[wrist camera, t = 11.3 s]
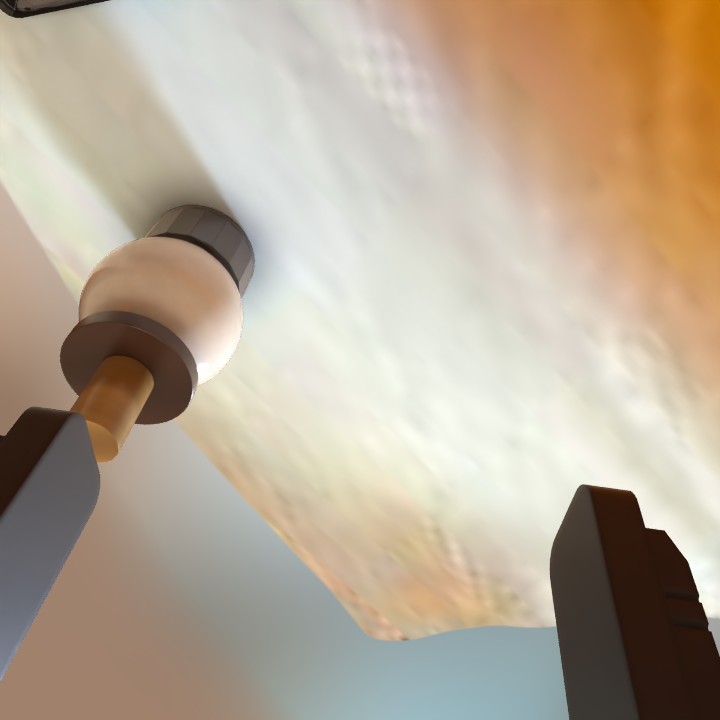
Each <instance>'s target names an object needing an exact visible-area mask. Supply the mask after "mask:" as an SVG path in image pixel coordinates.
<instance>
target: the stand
mask: <svg viewBox="0 0 720 720" xmlns="http://www.w3.org/2000/svg"><path fill="white" fill-rule="evenodd" d="M147 237H172V238H177V239H181V240H185V241H188V242H190V243H193V244H195V245H197V246H199V247H201V248H203V249H205V250H206V251H207V252H209V253H210V254H212V255H213V256H214V257H215V258H216V259H218V260H219V261H220V262H221V263H222V264H223V266H224V267H225V268H226V269H227V270H228V272H229V273H230V275H231V276H232V278H233V280H234V281H235V284H236V286H237V288H238V291H239V293H240V297H241V298H242V296H243V294H244V292H245V290H246V288H247V286H248V284H249V281H250V279H251V277H252V275H253V271H254V262H255V260H254V253H253V249H252V246H251V244H250V241H249V240H248V238H247V236H246V234H245V233H244V232H243V230H242V229H241V228H240V227H239V226H238V225H237V224H236V223H235V222H234V221H233V220H232V219H230V218H229V217H227V216H226V215H224V214H223V213H221V212H219V211H216V210H214V209H211V208H208V207H204V206H198V205H187V206H181V207H177V208H174V209H172V210H170V211H168V212H167V213H165V214H164V215H163V216H162V217H161V218H160V219H159V220H158V221H157V222H156V223H155V224H154V225H153V226H152V227H151V229H150V230H149V231H148V232H147V233H146V235H145V236H144V237H143V238H147Z"/></svg>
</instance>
